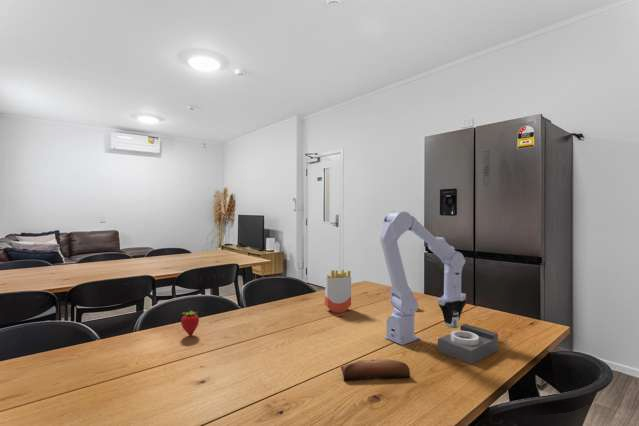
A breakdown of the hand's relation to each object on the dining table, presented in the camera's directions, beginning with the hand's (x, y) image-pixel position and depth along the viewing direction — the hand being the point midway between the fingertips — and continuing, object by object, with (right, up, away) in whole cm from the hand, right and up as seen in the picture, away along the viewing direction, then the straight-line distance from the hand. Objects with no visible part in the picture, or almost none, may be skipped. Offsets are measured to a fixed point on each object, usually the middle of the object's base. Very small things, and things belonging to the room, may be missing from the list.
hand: (452, 321), depth 121 cm
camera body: (-1, -5, -14) cm, 15 cm away
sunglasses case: (-33, -6, -28) cm, 44 cm away
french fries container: (-40, -4, +28) cm, 49 cm away
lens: (0, -1, 0) cm, 1 cm away
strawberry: (-93, -4, -2) cm, 93 cm away
